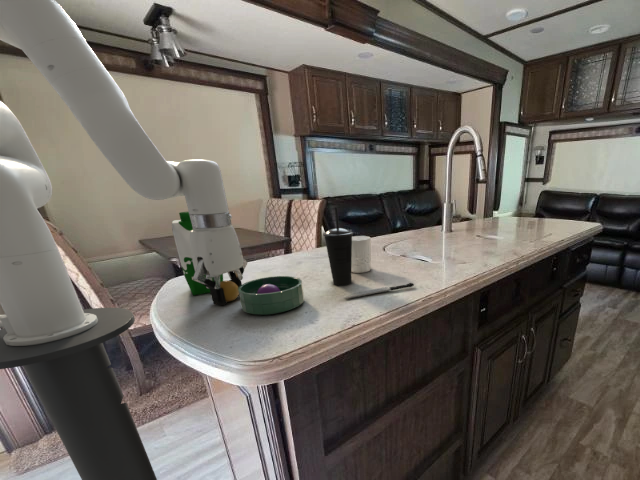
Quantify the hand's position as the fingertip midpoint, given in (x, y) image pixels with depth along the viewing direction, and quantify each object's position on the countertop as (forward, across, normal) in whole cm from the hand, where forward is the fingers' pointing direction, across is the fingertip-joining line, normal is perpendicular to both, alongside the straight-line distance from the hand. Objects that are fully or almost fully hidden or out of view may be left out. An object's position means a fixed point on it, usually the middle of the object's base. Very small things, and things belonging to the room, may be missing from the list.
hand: (229, 299), depth 75 cm
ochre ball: (-2, 0, 0) cm, 2 cm away
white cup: (+1, -33, +20) cm, 38 cm away
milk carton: (+1, -6, -12) cm, 14 cm away
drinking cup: (+1, -19, +20) cm, 28 cm away
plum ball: (-3, +2, +13) cm, 13 cm away
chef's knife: (0, -14, +33) cm, 36 cm away
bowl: (0, 0, +12) cm, 13 cm away
